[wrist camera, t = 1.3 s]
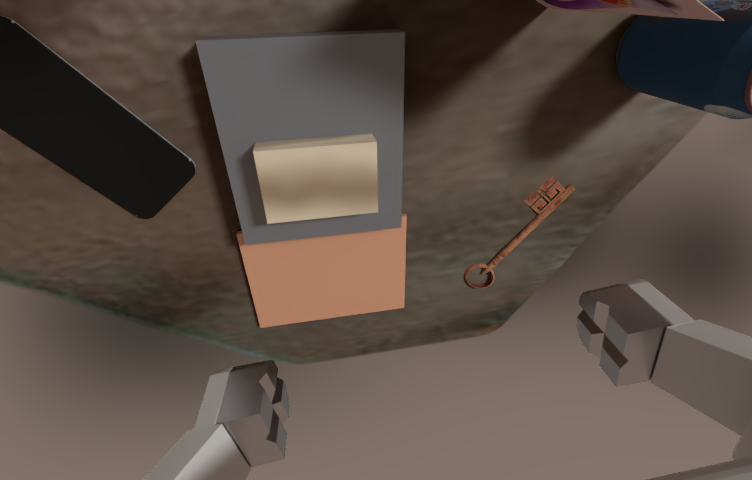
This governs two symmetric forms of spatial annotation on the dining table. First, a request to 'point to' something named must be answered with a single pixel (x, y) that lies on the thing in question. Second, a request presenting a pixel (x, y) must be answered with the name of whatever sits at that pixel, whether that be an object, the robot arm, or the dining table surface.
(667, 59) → the soda can
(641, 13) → the greeting card
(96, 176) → the smartphone
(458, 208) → the dining table surface
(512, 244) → the key
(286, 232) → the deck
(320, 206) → the tile
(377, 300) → the mat
